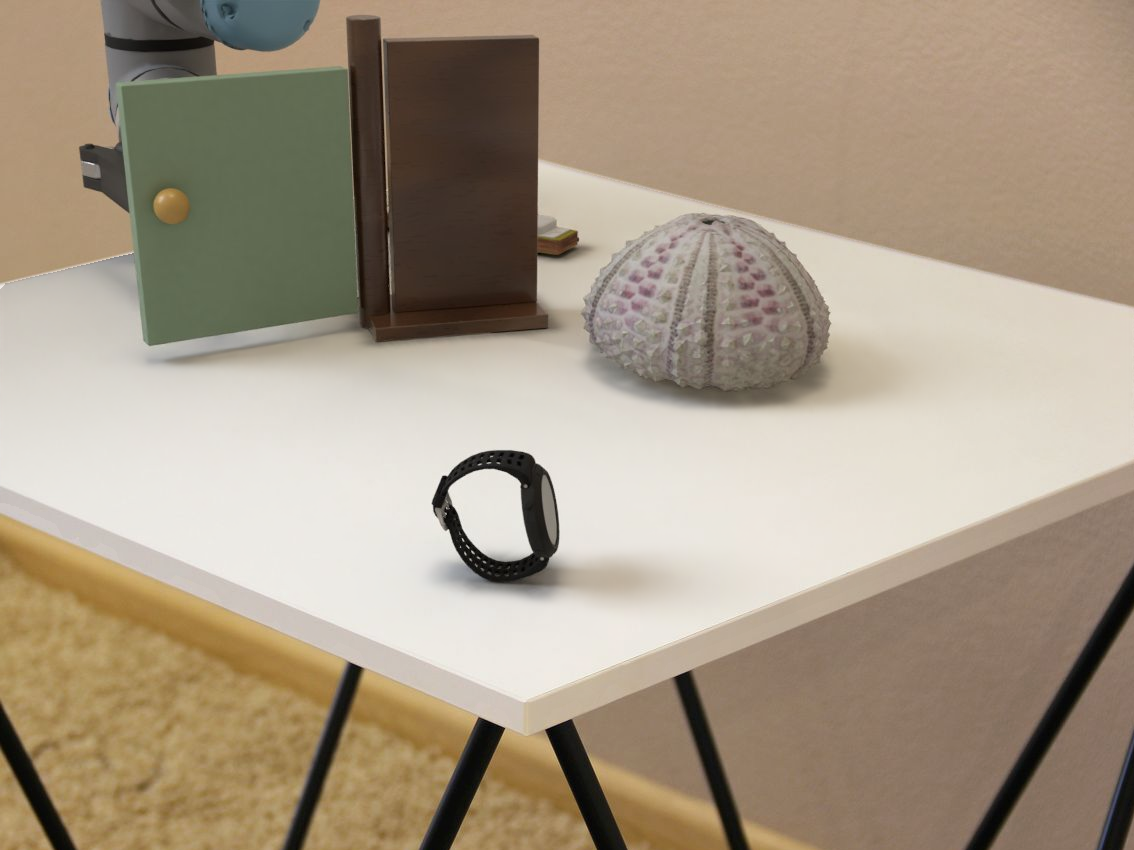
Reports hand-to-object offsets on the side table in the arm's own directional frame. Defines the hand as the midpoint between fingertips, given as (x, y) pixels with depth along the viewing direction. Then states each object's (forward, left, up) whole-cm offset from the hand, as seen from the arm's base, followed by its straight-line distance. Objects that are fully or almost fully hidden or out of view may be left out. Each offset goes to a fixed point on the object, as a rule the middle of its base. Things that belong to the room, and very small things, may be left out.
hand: (213, 229), depth 81 cm
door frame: (+12, +6, -6) cm, 15 cm away
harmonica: (+11, +23, -7) cm, 27 cm away
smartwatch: (+19, -25, -7) cm, 32 cm away
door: (+2, -1, -5) cm, 6 cm away
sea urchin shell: (+27, 0, -7) cm, 27 cm away
